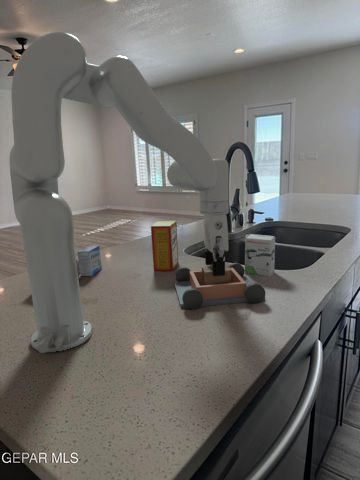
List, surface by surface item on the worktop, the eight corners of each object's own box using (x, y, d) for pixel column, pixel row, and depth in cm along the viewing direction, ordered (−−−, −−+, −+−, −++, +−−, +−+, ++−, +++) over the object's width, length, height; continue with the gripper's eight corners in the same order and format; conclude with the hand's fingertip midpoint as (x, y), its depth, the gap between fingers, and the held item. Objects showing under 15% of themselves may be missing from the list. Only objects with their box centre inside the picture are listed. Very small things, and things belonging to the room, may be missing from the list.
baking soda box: (161, 263, 122) (158, 219, 118) (178, 263, 121) (176, 219, 117) (153, 271, 113) (150, 225, 109) (172, 271, 112) (170, 225, 108)
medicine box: (92, 276, 111) (89, 251, 109) (80, 276, 112) (76, 251, 110) (102, 269, 119) (99, 245, 117) (90, 268, 120) (87, 245, 118)
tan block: (230, 291, 91) (230, 266, 89) (205, 293, 90) (204, 268, 88) (226, 284, 96) (226, 261, 94) (202, 286, 95) (201, 263, 93)
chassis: (267, 302, 85) (267, 283, 84) (181, 310, 83) (180, 291, 82) (244, 277, 103) (244, 261, 102) (174, 283, 101) (173, 267, 100)
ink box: (244, 273, 107) (243, 237, 105) (249, 268, 112) (248, 233, 109) (271, 276, 103) (271, 239, 100) (275, 271, 107) (275, 235, 105)
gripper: (237, 211, 79) (236, 279, 83) (220, 203, 96) (220, 260, 100) (206, 212, 79) (207, 281, 83) (194, 204, 95) (196, 261, 99)
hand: (214, 269), depth 91 cm, fingers open, 9 cm apart
